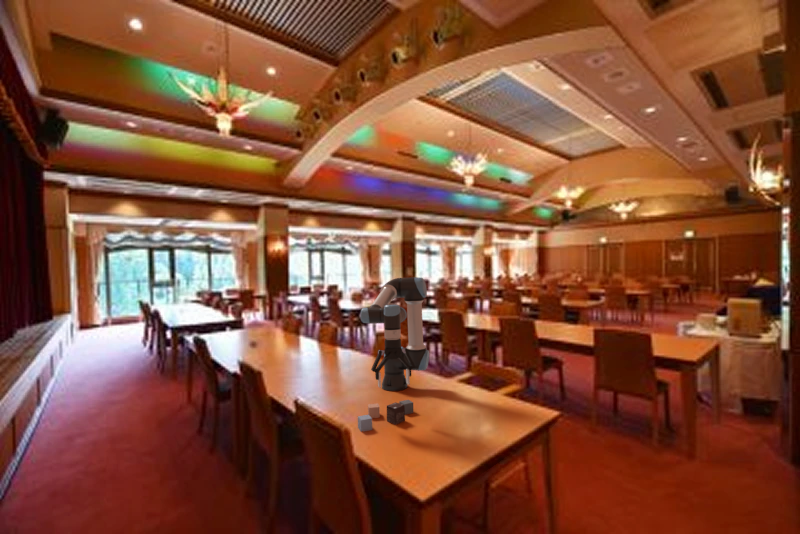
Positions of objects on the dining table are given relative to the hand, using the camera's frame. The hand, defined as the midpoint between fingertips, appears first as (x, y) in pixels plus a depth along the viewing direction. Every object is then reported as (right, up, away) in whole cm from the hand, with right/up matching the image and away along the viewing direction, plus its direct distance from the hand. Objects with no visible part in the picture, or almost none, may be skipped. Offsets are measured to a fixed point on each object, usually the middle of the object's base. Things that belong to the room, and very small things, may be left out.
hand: (393, 385), depth 174 cm
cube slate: (-12, -17, -8) cm, 22 cm away
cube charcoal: (+6, -16, +10) cm, 20 cm away
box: (+1, -17, -1) cm, 17 cm away
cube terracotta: (-10, -17, +7) cm, 20 cm away
